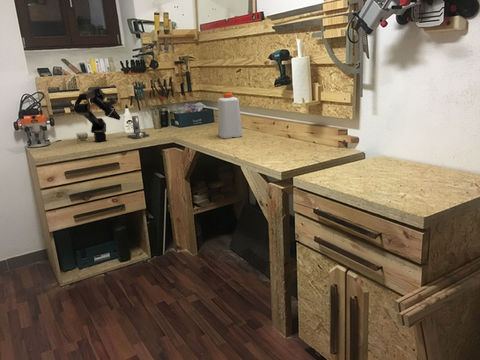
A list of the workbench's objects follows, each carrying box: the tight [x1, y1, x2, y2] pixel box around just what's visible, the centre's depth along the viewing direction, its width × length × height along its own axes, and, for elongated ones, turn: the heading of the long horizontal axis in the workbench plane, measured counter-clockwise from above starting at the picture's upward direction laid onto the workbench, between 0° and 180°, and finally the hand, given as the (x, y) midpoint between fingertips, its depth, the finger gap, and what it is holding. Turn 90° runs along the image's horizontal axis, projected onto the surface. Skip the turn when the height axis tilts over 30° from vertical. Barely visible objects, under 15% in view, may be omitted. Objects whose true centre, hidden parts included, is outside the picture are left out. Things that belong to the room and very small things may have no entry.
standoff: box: [131, 115, 141, 134], centre depth 277 cm, size 4×4×12 cm
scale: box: [126, 131, 150, 140], centre depth 278 cm, size 11×13×4 cm
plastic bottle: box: [217, 92, 244, 139], centre depth 261 cm, size 15×15×28 cm
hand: (120, 118), depth 273 cm, fingers open, 9 cm apart
